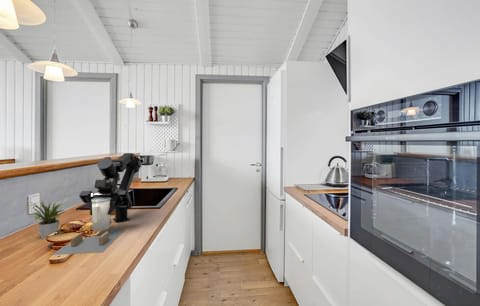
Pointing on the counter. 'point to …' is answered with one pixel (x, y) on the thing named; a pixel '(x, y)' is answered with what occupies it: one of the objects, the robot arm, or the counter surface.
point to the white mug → (100, 213)
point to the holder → (91, 242)
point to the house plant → (48, 219)
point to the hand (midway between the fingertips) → (99, 214)
